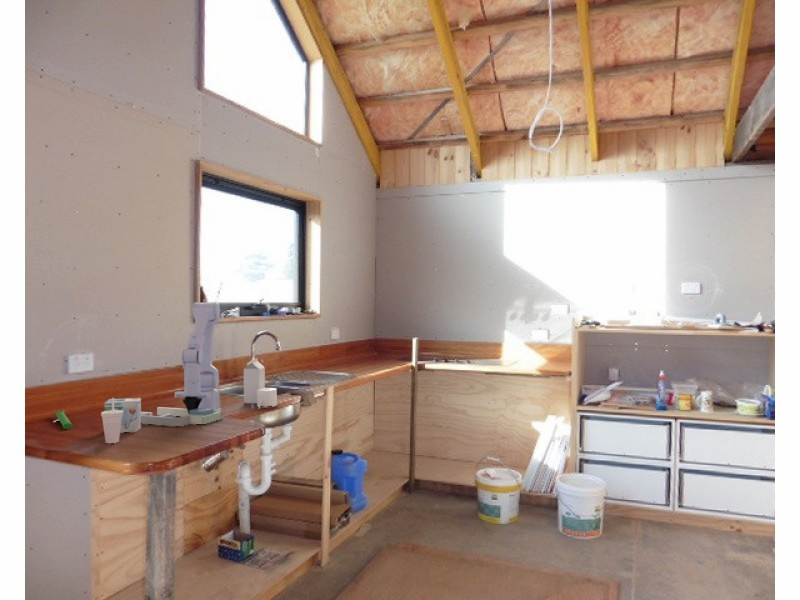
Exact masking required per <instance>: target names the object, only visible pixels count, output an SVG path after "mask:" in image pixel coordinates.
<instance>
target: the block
mask: <svg viewBox="0 0 800 600" xmlns="http://www.w3.org/2000/svg"><path fill="white" fill-rule="evenodd" d="M212 413H214V409H210V408H198V409H193V410H189V414H192V415H203V416H205V415H209V414H212Z"/></svg>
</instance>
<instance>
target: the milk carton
mask: <svg viewBox="0 0 800 600" xmlns="http://www.w3.org/2000/svg"><path fill="white" fill-rule="evenodd" d="M265 370H266V367H265V366H264V365H263V364H262V363H260V361H259V360H258V358H257V357H256V358H253V359H251V360H250V361H249V362H247V363H246V367H245V368H243V404H257V389H261V388H266V375H265V374H266V371H265Z"/></svg>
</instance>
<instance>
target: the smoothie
mask: <svg viewBox="0 0 800 600" xmlns="http://www.w3.org/2000/svg"><path fill="white" fill-rule="evenodd" d="M111 399H112V410H110V411H105V410H104V411H102V412H101V413H100V417H101V418H102V426H103V432H104V433H103V434H104V440H105V444H106V443H109V444H108V445H111V444H110V443H114V444H117V442H118V443H119V442H120V436H121V433H120V429H121V421H122V415H123V411H122V410H114V399H115V398H114V397H112V398H111Z"/></svg>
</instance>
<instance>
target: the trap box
mask: <svg viewBox="0 0 800 600" xmlns="http://www.w3.org/2000/svg"><path fill="white" fill-rule="evenodd" d="M156 409H157V410H156V411H157V412H156V415H153V412H151V411H149V412H148V411H141V423H142V424H141V425H148V424H153V425H152V426H161V425H169V426H168V427H175V426H182V427H185V426H184V425H186V426H188V424H189V425H196V424H206V425H208V424H207V423H209V424H211V423H210V422H212V423H214V422H213V421H215V422H217V421H216V420H218V421H221V420H223V410H214V413H212V414H209V415H205V416H203V415H192V414H188V410H187V408H180V407H165V406H164V407H162V406H158V407H157V408H156ZM176 416H180V417H176ZM220 419H221V420H220ZM154 424H155V425H154Z"/></svg>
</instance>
